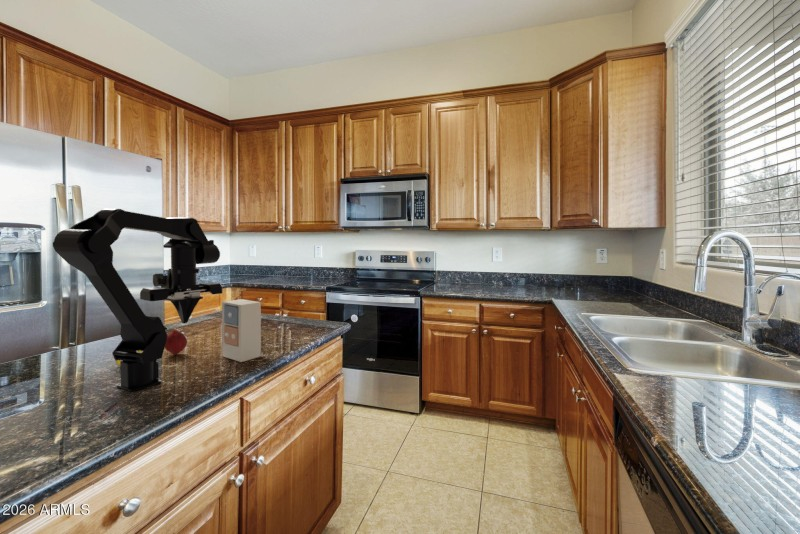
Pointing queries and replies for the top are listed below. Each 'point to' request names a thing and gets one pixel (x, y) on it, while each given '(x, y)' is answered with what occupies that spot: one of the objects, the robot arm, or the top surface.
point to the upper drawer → (231, 314)
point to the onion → (175, 342)
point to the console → (244, 331)
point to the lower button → (231, 335)
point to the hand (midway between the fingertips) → (184, 322)
